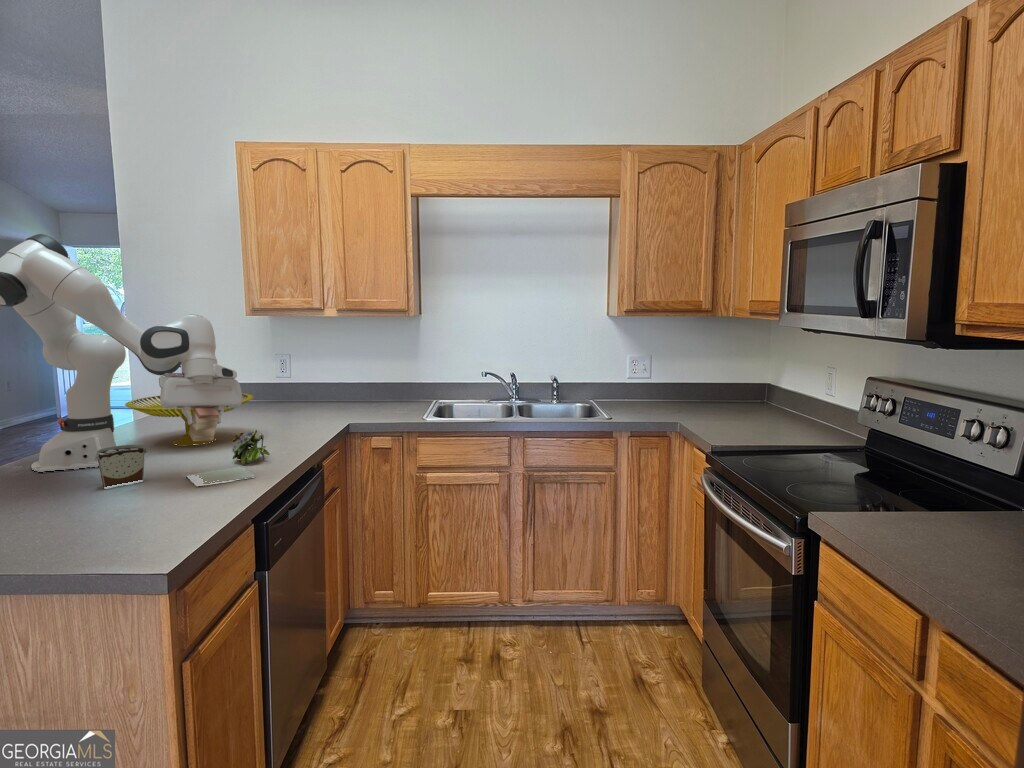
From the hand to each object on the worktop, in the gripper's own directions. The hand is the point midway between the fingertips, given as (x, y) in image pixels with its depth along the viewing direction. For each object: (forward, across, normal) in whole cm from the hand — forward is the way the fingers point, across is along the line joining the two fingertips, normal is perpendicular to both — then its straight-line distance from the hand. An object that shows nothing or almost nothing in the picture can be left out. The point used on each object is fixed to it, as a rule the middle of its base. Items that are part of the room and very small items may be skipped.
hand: (204, 423), depth 171 cm
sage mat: (+13, +7, +10) cm, 18 cm away
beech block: (+3, 0, +3) cm, 4 cm away
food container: (+11, -14, +24) cm, 30 cm away
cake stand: (-7, +19, +60) cm, 64 cm away
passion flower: (+8, +21, +22) cm, 31 cm away
